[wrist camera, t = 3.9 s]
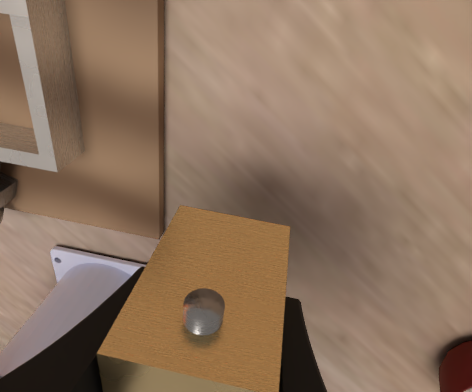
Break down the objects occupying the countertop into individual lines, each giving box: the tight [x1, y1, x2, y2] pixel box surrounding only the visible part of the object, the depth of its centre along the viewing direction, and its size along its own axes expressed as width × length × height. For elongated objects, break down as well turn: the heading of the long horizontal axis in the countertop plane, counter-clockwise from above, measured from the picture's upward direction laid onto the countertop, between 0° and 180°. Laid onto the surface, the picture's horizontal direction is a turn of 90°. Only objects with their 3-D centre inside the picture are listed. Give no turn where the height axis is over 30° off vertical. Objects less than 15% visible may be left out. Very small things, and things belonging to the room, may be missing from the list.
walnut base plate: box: [0, 0, 164, 239], centre depth 18 cm, size 18×16×1 cm
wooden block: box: [97, 205, 290, 392], centre depth 11 cm, size 5×4×6 cm
